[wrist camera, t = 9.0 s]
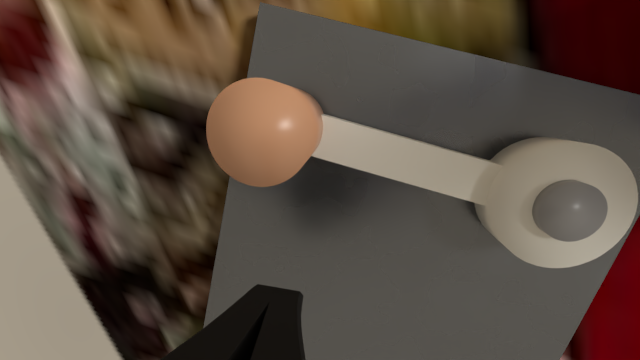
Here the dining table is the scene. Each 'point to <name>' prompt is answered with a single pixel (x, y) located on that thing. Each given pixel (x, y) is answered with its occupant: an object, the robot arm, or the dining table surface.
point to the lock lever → (436, 171)
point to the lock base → (411, 202)
